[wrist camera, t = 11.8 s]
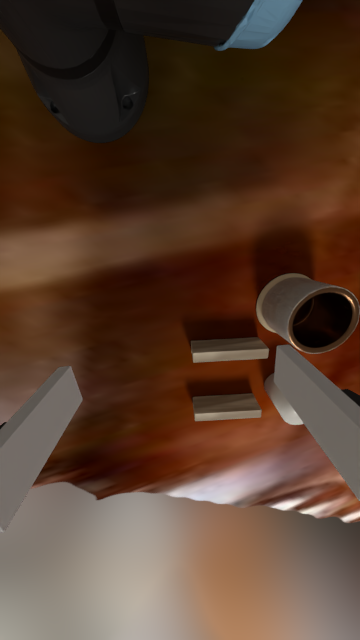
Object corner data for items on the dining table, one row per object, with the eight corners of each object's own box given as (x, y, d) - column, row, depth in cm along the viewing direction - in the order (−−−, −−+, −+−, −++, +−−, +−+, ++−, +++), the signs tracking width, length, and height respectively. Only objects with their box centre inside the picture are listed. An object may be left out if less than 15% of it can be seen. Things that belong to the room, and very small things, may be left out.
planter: (317, 270, 36) (365, 278, 27) (315, 324, 40) (356, 347, 31) (258, 282, 36) (286, 294, 27) (261, 335, 40) (287, 360, 31)
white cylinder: (265, 371, 44) (284, 397, 36) (296, 370, 44) (321, 395, 36) (262, 396, 46) (279, 425, 39) (292, 395, 46) (314, 423, 39)
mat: (258, 275, 36) (259, 275, 36) (323, 271, 36) (324, 271, 36) (253, 334, 40) (254, 334, 40) (311, 330, 40) (312, 331, 40)
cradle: (190, 340, 41) (193, 353, 36) (258, 337, 41) (269, 348, 36) (192, 403, 46) (195, 421, 42) (251, 400, 46) (260, 417, 42)
